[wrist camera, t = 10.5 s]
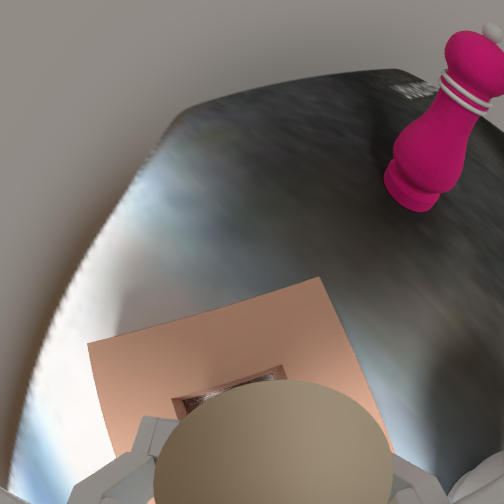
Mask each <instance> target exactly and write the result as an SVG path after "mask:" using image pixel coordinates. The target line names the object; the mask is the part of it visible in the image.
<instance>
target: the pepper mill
mask: <svg viewBox="0 0 504 504" xmlns="http://www.w3.org/2000/svg"><path fill="white" fill-rule="evenodd" d="M482 33H483V35H481V34H478V33H476V32H472V31H460V32H457V33H455V34H454V35H452V36H451V38H450V39H449V40H448V42H447V44H446V47H445V58H446V62H447V65H448V69H443V70H442V72H441V73H442V75H441V77H440V78H439V79H438V84H439V86H440V88H439V91H438V94H437V96H436V98H435V100H434V102H433V103H432V105H431V106H430V108H429V109H428V110H427V111H426V112H425V113H424V114H423V115H422V116H421V117H419V118H418V119H417V120H415V121H414V122H412V123H411V124H409V125H408V126H407V127H406V128H405V129H404V130H403V131H402V132H401V133H400V134H399V136H398V138H397V139H396V141H395V143H394V146H393V156H394V159H392V160H391V162H390V163H389V165H388V167H387V169H386V171H385V173H384V178H383V179H384V184H385V187H386V189H387V190H388V192H389V194H390V195H391V196H392V197H393V198H394V199H395V201H397V202H398V203H399V204H400V205H402V206H403V207H405V208H407V209H409V210H412V211H415V212H426V211H428V210H430V209H431V208H432V206H433V205H434V204H435V203H436V201H437V200H438V199H439V196H440V193H444V192H447V191H449V190H451V189H452V188H453V187H454V185H455V184H456V182H457V180H458V179H459V177H460V174H461V171H462V168H463V164H464V158H465V151H466V146H467V141H468V138H469V134H470V132H471V130H472V128H473V126H474V124H475V123H476V121H477V120H478V119H479V117H480V116H486V115H487V113H488V109H489V108H491V106H492V102H491V100H490V99H491V98H493V97H498V96H501V95H503V94H504V52H503V51H502V50H501V49H500V48H499V47H498V46H497V45H496V44H498V43H500V42H501V41H502V37H503V36H502V32H501V30H500V29H499V28H498V26H496V25H495V24H493V23H486V24H484V25H483V27H482Z"/></svg>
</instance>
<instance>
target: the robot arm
mask: <svg viewBox="0 0 504 504" xmlns="http://www.w3.org/2000/svg"><path fill="white" fill-rule="evenodd" d="M181 421H182V420H174V419H166V418H158V417H152V416H145V415H144V416H143V417H142V418H141V421H140V424H139V427H138V430H137V433H136V436H135V439H134V443H133V446H132V449H131V452H125V453H123V454H122V455H120V456H119V457H117V458H116V459H115V460H113V461H112V462H110V463H109V464H107V465H106V466H104V467H103V468H101V469H100V470H98V471H97V472H95V473H94V474H92V475H90V476H89V477H87V478H86V479H84V480H83V481H81V482H79V483H78V484H76V485H75V486H74V487H73V490H72V492H71V495H70V498H69V500H68V503H67V504H147V503H148V502H149V501H150V500H151V499H152V498H153V497H154V489H153V480H154V472H155V467H156V463H157V460H158V456H159V454H160V452H161V450H162V447H163V445H164V443H165V442H166V440H167V439H168V437H169V435H170V434H171V432H172V431H173V430H174V429H175V427H176V426H177V425H178V424H179V423H180V422H181ZM391 455H392V462H393V482H392V488H391V493H390V496H389V500H388V503H387V504H504V473H503V474H502V475H500V476H499V477H497V478H496V479H494V480H493V481H491V482H489V483H488V484H486V485H484V486H483V487H481V488H479V489H478V490H476V491H474V492H472V493H470V494H469V495H467V496H465V497H463V498H461V499H459V500H457V501H455V502H453V503H450V501H449V499H448V498H447V496H446V494H445V492H444V490H443V488H442V487H441V485H440V483H439V481H438V479H437V478H436V477H435V476H433V475H432V474H430V473H428V472H426V471H424V470H422V469H420V468H419V467H417V466H415V465H413V464H411V463H410V462H408V461H406V460H404V459H403V458H401V457H399V456H397V455H396V454H394V453H392V452H391ZM0 504H31V503H29V502H27V501H25V500H23V499H21V498H19V497H17V496H15V495H13V494H12V493H10V492H8V491H6V490H5V489H3V488H1V487H0Z"/></svg>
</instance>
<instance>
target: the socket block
mask: <svg viewBox="0 0 504 504" xmlns="http://www.w3.org/2000/svg"><path fill="white" fill-rule="evenodd" d="M87 345H88V351H89V356H90V362H91V367H92V372H93V376H94V381H95V386H96V390H97V394H98V398H99V402H100V406H101V410H102V413H103V417H104V421H105V424H106V427H107V431H108V434H109V437H110V440H111V443H112V446H113V449H114V452H115V455H116V458H117V457H119V456H120V455H122V454H123V453H125V452H131V449H132V446H133V443H134V439H135V436H136V433H137V430H138V427H139V424H140V421H141V418H142V417H143V416H144V415H145V416H152V417H158V418H166V419H174V420H182V419H184V418H185V417H186V416H187V415H188V414H187V411H186V409H185V406H184V403H183V400H187V399H191V398H194V397H198V396H202V395H205V394H209V393H212V392H215V391H219V390H222V389H225V388H229V387H232V386H235V385H238V384H241V383H244V382H247V381H250V380H253V379H256V378H259V377H262V376H265V375H268V374H270V373H272V375H273V377H274V380H298V381H306V382H311V383H316V384H320V385H323V386H326V387H329V388H332V389H334V390H336V391H338V392H341V393H343V394H345V395H346V396H348V397H350V398H351V399H353V400H354V401H356V402H357V403H358V404H360V405H361V406H362V407H363V408H364V409H366V410H367V411H368V412H369V413H370V415H371V416H372V417H373V418H374V419H375V420H376V422H377V423H378V425H379V426H380V428H381V429H382V431H383V433H384V435H385V437H386V439H387V441H388V444H389V448H390V451H391V452H392V453H394V454H395V451H394V448H393V446H392V443H391V441H390V438H389V435H388V433H387V430H386V428H385V425H384V422H383V420H382V417H381V415H380V412H379V410H378V407H377V405H376V403H375V400H374V398H373V395H372V393H371V390H370V388H369V386H368V383H367V381H366V379H365V376H364V374H363V371H362V369H361V367H360V364H359V362H358V360H357V358H356V355H355V353H354V351H353V348H352V346H351V344H350V342H349V339H348V337H347V335H346V333H345V331H344V328H343V326H342V324H341V322H340V320H339V317H338V315H337V313H336V311H335V309H334V307H333V304H332V302H331V300H330V298H329V296H328V294H327V292H326V290H325V288H324V285H323V283H322V281H321V279H320V277H319V276H318V277H315V278H312V279H310V280H307V281H304V282H300V283H297V284H294V285H291V286H288V287H285V288H282V289H279V290H276V291H273V292H270V293H266V294H263V295H260V296H257V297H254V298H251V299H247V300H244V301H241V302H238V303H234V304H231V305H228V306H224V307H221V308H218V309H214V310H211V311H207V312H204V313H200V314H197V315H193V316H190V317H186V318H183V319H179V320H176V321H172V322H169V323H165V324H161V325H158V326H154V327H150V328H146V329H143V330H139V331H135V332H131V333H127V334H123V335H120V336H116V337H112V338H108V339H104V340H99V341H95V342H91V343H87ZM147 504H155V499H154V497H153V498H152V499H151V500H150V501H149V502H148V503H147Z"/></svg>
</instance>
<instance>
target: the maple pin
mask: <svg viewBox="0 0 504 504" xmlns="http://www.w3.org/2000/svg"><path fill="white" fill-rule="evenodd" d="M392 482H393V462H392V455H391V451H390V448H389V444H388V441H387V439H386V437H385V435H384V433H383V431H382V429H381V428H380V426H379V425H378V423H377V422H376V420H375V419H374V418H373V417H372V416H371V415H370V413H369V412H368V411H367V410H366V409H364V408H363V407H362V406H361V405H360V404H358V403H357V402H356V401H354V400H353V399H351V398H350V397H348V396H346V395H345V394H343V393H341V392H338V391H336V390H334V389H332V388H329V387H326V386H323V385H320V384H316V383H311V382H306V381H298V380H267V381H261V382H254V383H250V384H246V385H242V386H238V387H235V388H233V389H230V390H228V391H225V392H222V393H220V394H218V395H217V396H215V397H213V398H211V399H209V400H207V401H206V402H204V403H203V404H201V405H200V406H198V407H197V408H195V409H194V410H193V411H192V412H190V413H189V414H188V415H187V416H186V417H185V418H184V419H182V421H181V422H180V423H179V424H178V425H177V426H176V427H175V429H174V430H173V431H172V432H171V434H170V435H169V437H168V439H167V440H166V442H165V443H164V445H163V447H162V450H161V452H160V454H159V456H158V460H157V463H156V467H155V472H154V480H153V489H154V499H155V504H387V503H388V500H389V496H390V493H391V488H392Z"/></svg>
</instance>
